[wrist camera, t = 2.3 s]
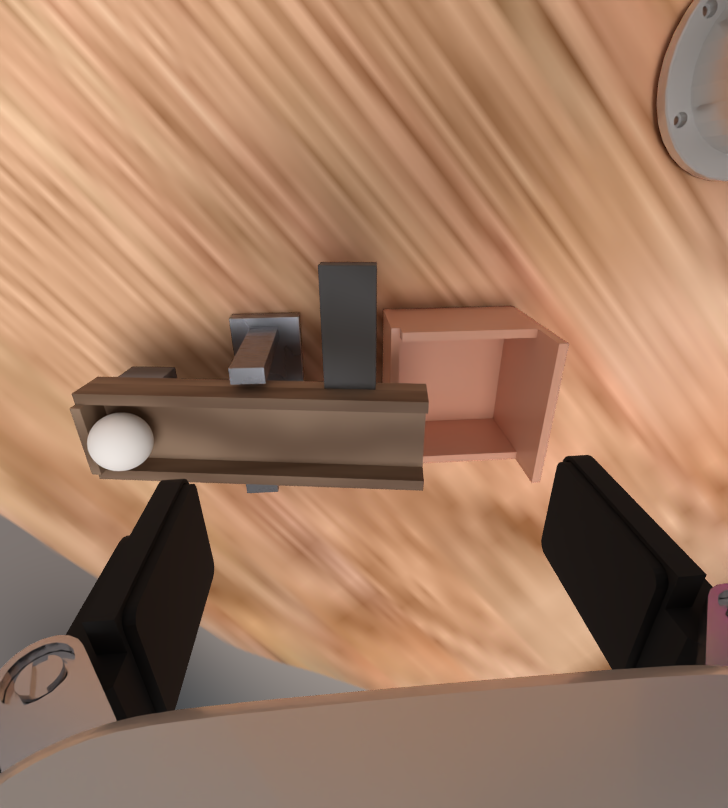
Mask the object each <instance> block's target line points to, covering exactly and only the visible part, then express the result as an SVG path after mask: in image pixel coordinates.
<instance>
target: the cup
mask: <svg viewBox="0 0 728 808" xmlns="http://www.w3.org/2000/svg"><path fill="white" fill-rule="evenodd" d="M568 347H569V343H568V342H566V341H565V340H563V339H562V338H560V337H559V336H557V335H556V334H554V333H553V332H551V331H550V330H548V329H547V328H545V327H544V326H542V325H541V324H539V323H538V322H536V321H535V320H533V319H532V318H530V317H529V316H527V315H526V314H524V313H523V312H521V311H520V310H518V309H517V308H515V307H514V306H494V307H455V308H415V309H383V359H382V383H413V384H426V386H427V393H428V400H429V408H428V414H426V418H425V434H424V450H423V463H436V462H458V461H479V460H500V459H516V460H517V462H518V463H519V465H520V466H521V468H522V469H523V471H524V472H525V474H526V475H527V477H528V478H529V479H530V481H531V482H532V483H534V482H540V480H541V475H542V470H543V465H544V461H545V456H546V451H547V446H548V442H549V437H550V432H551V427H552V423H553V418H554V413H555V408H556V404H557V399H558V394H559V389H560V385H561V380H562V375H563V370H564V366H565V361H566V356H567V351H568Z"/></svg>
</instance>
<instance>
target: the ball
mask: <svg viewBox="0 0 728 808" xmlns="http://www.w3.org/2000/svg"><path fill="white" fill-rule="evenodd" d="M153 444H154V437H153V433H152V430H151V428H150V427H149V425H148V424H147V423H146V422H145V421H144V420H143V419H142V418H140V417H138V416H136V415H134V414H130V413H113V414H110V415H107V416H105V417H103V418H101V419H100V420H99V421H97V422H96V423H95V424H94V425H93V427H92V428H91V430H90V432H89V435H88V439H87V447H88V451H89V454H90V456H91V457H92V459H93V460H94V461H95V462H96V463H97V464H98V465H100V466H101V467H103V468H105V469H108V470H112V471H126V470H130V469H133V468H135V467H137V466H139V465H140V464H142V463H143V462H144V461H145V460H146V459H147V458H148V457H149V455H150V453H151V451H152V448H153Z"/></svg>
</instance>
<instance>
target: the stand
mask: <svg viewBox="0 0 728 808" xmlns="http://www.w3.org/2000/svg"><path fill="white" fill-rule="evenodd" d="M229 322H230V329H231V336H232V343H233V350H234V356H235V357H234V359H233V361H232V362H231V364H230V366H229V368H228V371H229V377H230V384H231V385H237V384H265V383H266V381H267V380H272V381H304V372H303V358H302V345H301V331H300V317H299V313H269V314H232V315H231V317H230V318H229ZM246 487H247V493H260V492H278V490H279V485H258V484H246Z"/></svg>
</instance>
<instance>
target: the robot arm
mask: <svg viewBox="0 0 728 808" xmlns="http://www.w3.org/2000/svg"><path fill="white" fill-rule="evenodd" d="M657 116H658V125H659V129H660V133H661V136H662V140H663V143H664V145H665V147H666V148H667V150H668V152H669V154H670V156H671V157H672V158H673V159H674V161H675V162H676V163H677V164H678V165H679V166H680V167H681V168H682V169H684V170H685V171H687V172H688V173H690V174H692V175H693V176H695V177H699V178H702V179H705V180H709V181H728V0H694V1H693V2H692V3H691V5H690V6H689V8H688V9H687V10H686V12H685V14H684V16H683V17H682V19H681V21H680V23H679V25H678V27H677V28H676V30H675V32H674V34H673V36H672V39H671V42H670V44H669V47H668V49H667V52H666V54H665V57H664V61H663V65H662V69H661V73H660V77H659V82H658V93H657ZM541 543H542V549H543V552H544V554H545V556H546V558H547V559H548V561H549V563H550V564H551V566H552V568H553V569H554V571H555V573H556V575H557V576H558V578H559V580H560V581H561V583H562V585H563V586H564V588H565V590H566V592H567V593H568V595H569V597H570V598H571V600H572V602H573V604H574V605H575V607H576V609H577V610H578V612H579V614H580V615H581V617H582V619H583V621H584V622H585V624H586V626H587V627H588V629H589V631H590V632H591V634H592V636H593V638H594V639H595V641H596V643H597V644H598V646H599V648H600V650H601V651H602V653H603V655H604V656H605V658H606V660H607V661H608V663H609V665H610V667H611V668H612V670H602V671H590V672H577V673H565V674H553V675H541V676H529V677H517V678H505V679H493V680H482V681H470V682H459V683H447V684H436V685H424V686H413V687H402V688H391V689H380V690H368V691H358V692H347V693H337V694H326V695H316V696H305V697H294V698H284V699H273V700H262V701H252V702H243V703H235V704H225V705H216V706H207V707H198V708H190V709H180V710H175V707H176V704H177V701H178V697H179V694H180V690H181V687H182V683H183V680H184V677H185V673H186V670H187V666H188V663H189V659H190V656H191V652H192V649H193V645H194V642H195V638H196V635H197V631H198V628H199V625H200V621H201V618H202V614H203V611H204V607H205V604H206V600H207V597H208V593H209V590H210V586H211V583H212V579H213V575H214V561H213V557H212V552H211V548H210V544H209V539H208V535H207V531H206V526H205V522H204V518H203V514H202V509H201V505H200V501H199V496H198V492H197V488H196V486H195V484H189V482H188V481H187V479H170V480H162V481H161V482H160V483H159V484H158V486H157V488H156V490H155V492H154V493H153V495H152V497H151V499H150V500H149V502H148V504H147V506H146V508H145V509H144V511H143V513H142V515H141V517H140V518H139V520H138V522H137V524H136V526H135V527H134V529H133V531H132V533H131V534H130V536H125V537H124V538H122V540H121V541H120V542H119V544H118V545H117V547H116V549H115V550H114V552H113V554H112V556H111V557H110V559H109V561H108V563H107V564H106V566H105V568H104V570H103V571H102V573H101V575H100V576H99V578H98V580H97V582H96V583H95V585H94V587H93V589H92V590H91V592H90V594H89V596H88V597H87V599H86V601H85V602H84V604H83V606H82V608H81V609H80V611H79V613H78V615H77V616H76V618H75V620H74V622H73V623H72V625H71V627H70V629H69V630H68V632H67V634H66V635H56V636H53V637H49V638H45V639H42V640H40V641H38V642H36V643H33V644H31V645H29V646H28V647H26V648H25V649H23V650H22V651H20V652H19V653H17V654H16V655H14V657H12V658H11V659H10V660H9V661H8V662H7V663H6V664H5V665H4V666H3V667H2V668H1V670H0V808H728V583H725V584H719V585H716V586H714V587H712V586H711V585H710V584H709V583H708V581H707V580H706V579H705V577H706V574H705V573H704V572H703V571H702V569H701V568H700V567H699V566H698V565H697V564H696V563H695V562H694V561H693V560H692V559H691V558H690V557H689V556H688V555H687V554H686V553H685V552H684V551H683V550H682V549H681V548H680V547H679V546H678V545H677V544H676V543H675V542H674V541H673V540H672V539H671V538H670V536H669V535H668V534H667V533H666V532H665V531H664V530H663V529H662V528H661V527H660V526H659V525H658V524H657V523H656V522H655V521H654V520H653V519H652V518H651V517H650V516H649V515H648V514H647V513H646V512H645V511H644V510H643V509H642V508H641V507H640V506H639V505H638V503H637V502H636V501H635V500H634V499H633V498H632V497H631V496H630V495H629V494H628V493H627V492H626V491H625V490H624V489H623V488H622V487H621V486H620V485H619V484H618V483H617V482H616V481H615V480H614V479H613V478H612V477H611V476H610V475H609V474H608V473H607V472H606V470H605V469H604V468H603V467H602V466H601V465H600V464H599V463H598V462H597V461H596V460H595V459H594V458H593V457H591V456H590V455H580V456H567V457H565V459H564V460H563V462H560V463H559V464H558V465H557V469H556V473H555V478H554V483H553V488H552V492H551V497H550V502H549V506H548V511H547V516H546V520H545V525H544V530H543V535H542V540H541Z"/></svg>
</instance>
